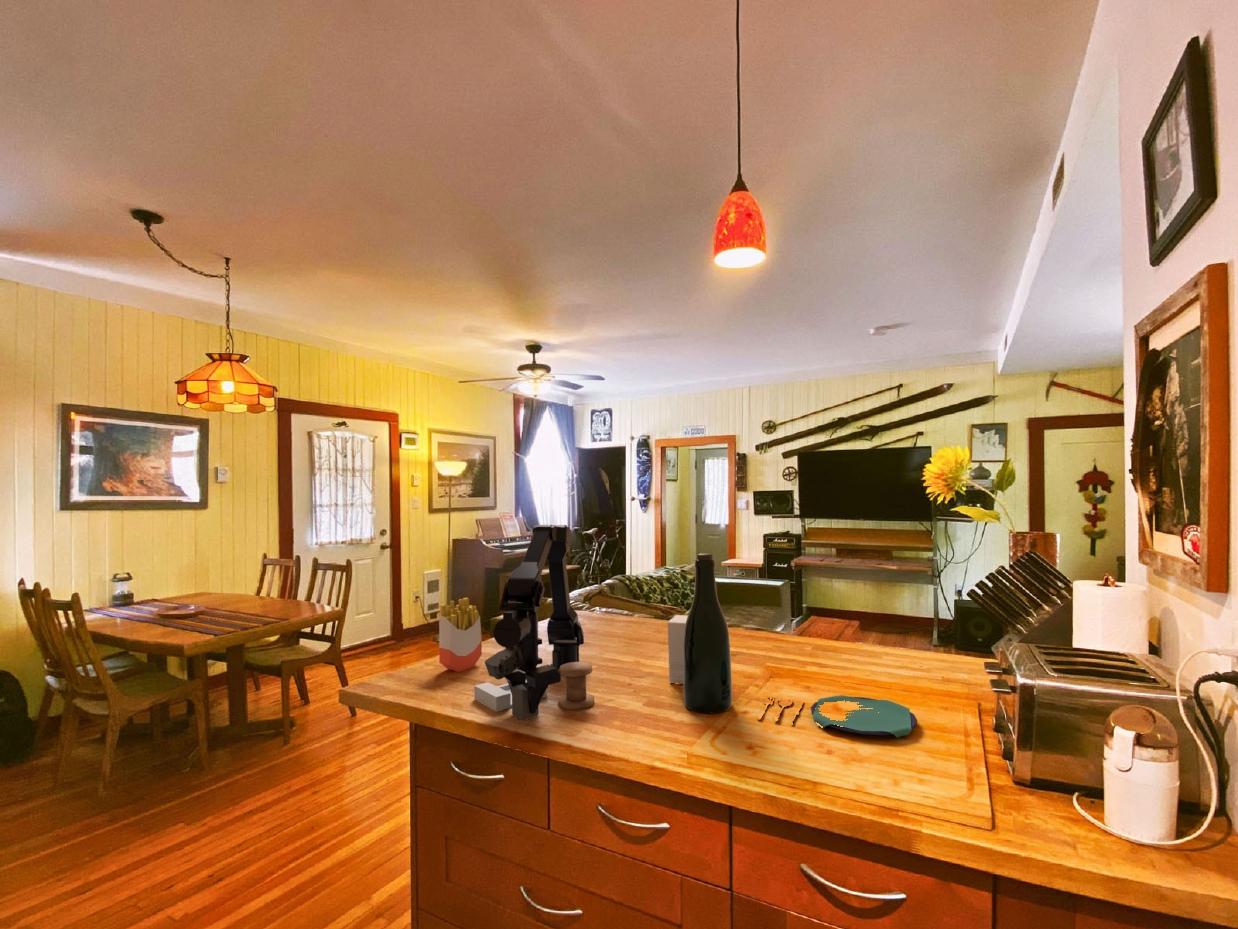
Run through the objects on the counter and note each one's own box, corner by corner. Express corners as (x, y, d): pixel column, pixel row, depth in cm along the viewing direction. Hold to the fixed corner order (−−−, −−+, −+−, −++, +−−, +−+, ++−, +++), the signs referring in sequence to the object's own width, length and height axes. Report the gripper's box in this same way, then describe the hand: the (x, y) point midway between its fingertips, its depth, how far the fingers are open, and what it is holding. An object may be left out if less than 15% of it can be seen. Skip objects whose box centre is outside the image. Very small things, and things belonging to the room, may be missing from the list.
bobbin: (579, 694, 134) (579, 659, 135) (601, 703, 128) (601, 667, 129) (551, 703, 129) (550, 666, 129) (572, 713, 123) (572, 675, 123)
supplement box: (711, 675, 146) (710, 616, 147) (705, 687, 138) (703, 624, 138) (676, 672, 149) (675, 614, 150) (668, 684, 140) (666, 621, 141)
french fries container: (482, 664, 159) (482, 598, 159) (450, 675, 150) (450, 605, 151) (471, 661, 161) (471, 596, 162) (439, 672, 153) (439, 603, 153)
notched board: (523, 686, 141) (523, 673, 141) (546, 696, 133) (546, 683, 133) (474, 699, 132) (474, 685, 132) (496, 711, 125) (496, 697, 125)
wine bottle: (702, 718, 119) (698, 557, 120) (674, 702, 128) (671, 552, 130) (742, 709, 124) (738, 554, 125) (712, 694, 133) (709, 549, 134)
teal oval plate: (920, 750, 104) (919, 737, 104) (752, 727, 116) (752, 715, 116) (915, 712, 122) (915, 701, 122) (770, 695, 134) (770, 685, 134)
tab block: (528, 710, 125) (528, 682, 125) (538, 715, 122) (538, 687, 122) (512, 715, 122) (511, 686, 123) (522, 721, 119) (521, 691, 120)
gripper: (469, 633, 125) (469, 707, 124) (514, 651, 111) (515, 734, 110) (514, 625, 132) (514, 694, 131) (562, 640, 118) (562, 718, 117)
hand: (525, 709), depth 122 cm, fingers open, 6 cm apart
